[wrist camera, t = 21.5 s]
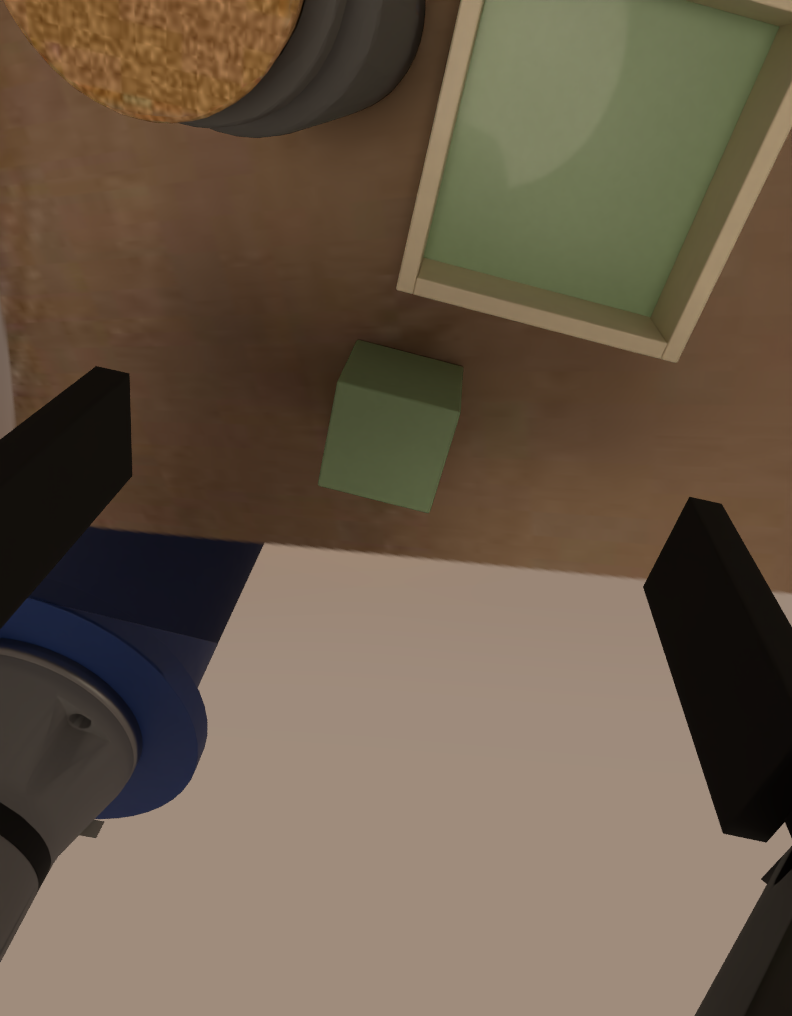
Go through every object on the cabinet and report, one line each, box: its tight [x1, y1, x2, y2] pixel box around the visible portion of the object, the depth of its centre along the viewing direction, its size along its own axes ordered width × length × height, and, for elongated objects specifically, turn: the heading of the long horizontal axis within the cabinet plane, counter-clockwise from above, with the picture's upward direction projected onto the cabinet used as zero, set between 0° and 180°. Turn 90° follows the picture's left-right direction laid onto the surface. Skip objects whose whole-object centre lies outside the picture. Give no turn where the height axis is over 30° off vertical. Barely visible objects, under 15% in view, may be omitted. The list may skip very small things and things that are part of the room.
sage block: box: [318, 340, 463, 513], centre depth 27 cm, size 4×4×4 cm
